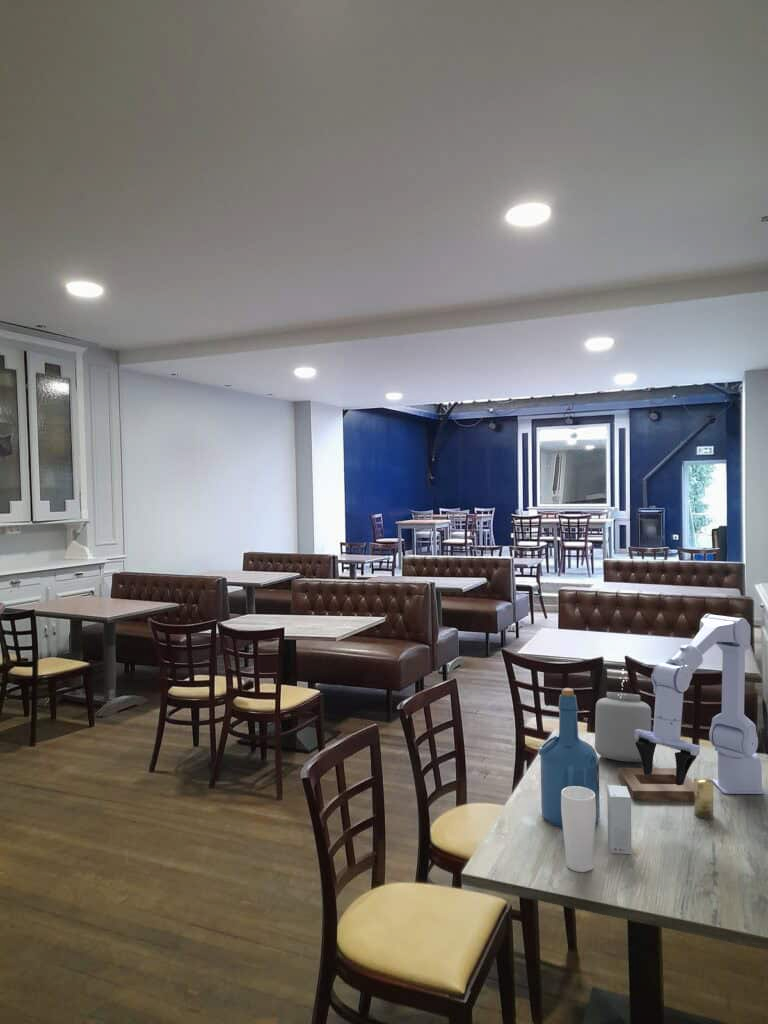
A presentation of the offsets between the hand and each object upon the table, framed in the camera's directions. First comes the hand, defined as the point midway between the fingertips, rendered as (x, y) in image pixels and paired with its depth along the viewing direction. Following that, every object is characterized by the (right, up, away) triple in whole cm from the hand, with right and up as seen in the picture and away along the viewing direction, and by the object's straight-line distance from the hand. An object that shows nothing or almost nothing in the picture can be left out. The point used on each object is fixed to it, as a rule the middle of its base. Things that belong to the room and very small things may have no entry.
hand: (663, 779), depth 154 cm
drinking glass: (-23, -12, -16) cm, 31 cm away
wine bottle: (-20, -11, +5) cm, 23 cm away
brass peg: (+11, -10, +5) cm, 16 cm away
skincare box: (-13, -11, -9) cm, 19 cm away
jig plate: (+6, -10, +19) cm, 22 cm away
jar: (+5, -10, +39) cm, 41 cm away
